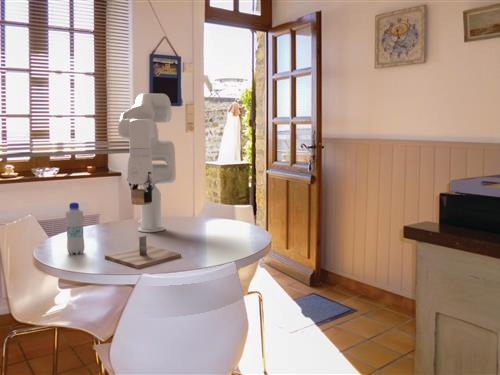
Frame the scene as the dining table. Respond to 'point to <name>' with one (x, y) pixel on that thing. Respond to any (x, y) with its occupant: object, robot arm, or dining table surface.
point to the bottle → (74, 229)
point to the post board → (142, 255)
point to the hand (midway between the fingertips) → (141, 200)
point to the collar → (138, 197)
